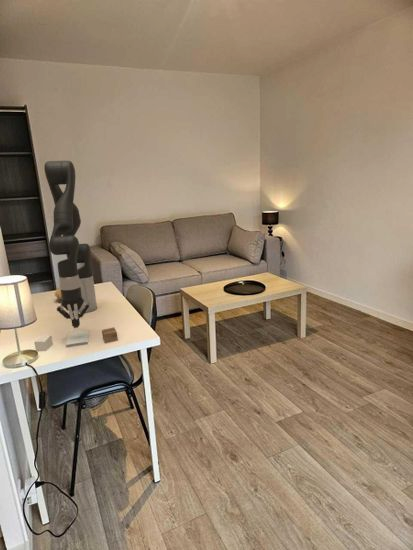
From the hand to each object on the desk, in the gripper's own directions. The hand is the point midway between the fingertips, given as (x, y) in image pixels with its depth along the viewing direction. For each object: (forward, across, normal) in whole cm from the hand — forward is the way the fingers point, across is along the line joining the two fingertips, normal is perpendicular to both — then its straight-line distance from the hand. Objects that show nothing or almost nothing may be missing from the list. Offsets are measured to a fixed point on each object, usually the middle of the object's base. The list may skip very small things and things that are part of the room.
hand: (76, 327), depth 147 cm
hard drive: (+6, 0, 0) cm, 6 cm away
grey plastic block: (+5, +12, +4) cm, 14 cm away
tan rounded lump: (+6, +9, -58) cm, 59 cm away
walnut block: (+5, -13, +4) cm, 15 cm away
